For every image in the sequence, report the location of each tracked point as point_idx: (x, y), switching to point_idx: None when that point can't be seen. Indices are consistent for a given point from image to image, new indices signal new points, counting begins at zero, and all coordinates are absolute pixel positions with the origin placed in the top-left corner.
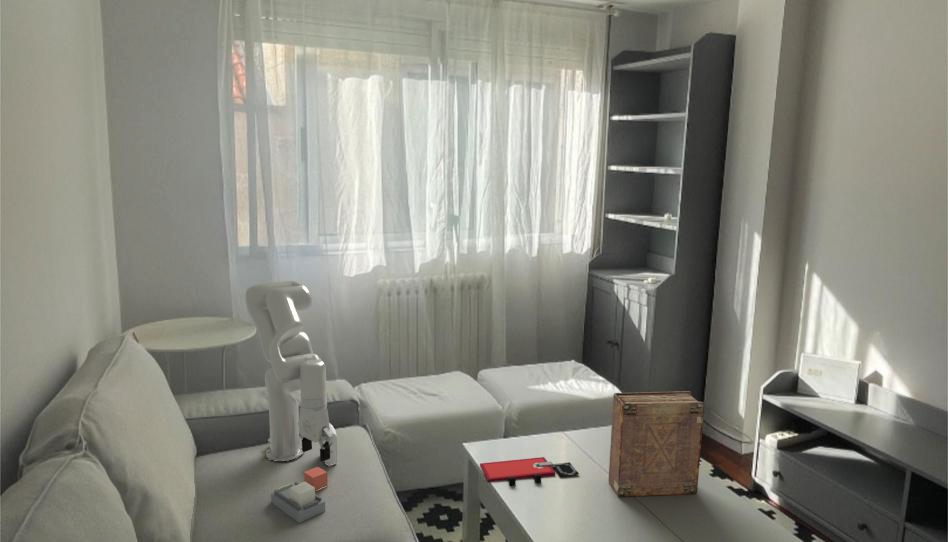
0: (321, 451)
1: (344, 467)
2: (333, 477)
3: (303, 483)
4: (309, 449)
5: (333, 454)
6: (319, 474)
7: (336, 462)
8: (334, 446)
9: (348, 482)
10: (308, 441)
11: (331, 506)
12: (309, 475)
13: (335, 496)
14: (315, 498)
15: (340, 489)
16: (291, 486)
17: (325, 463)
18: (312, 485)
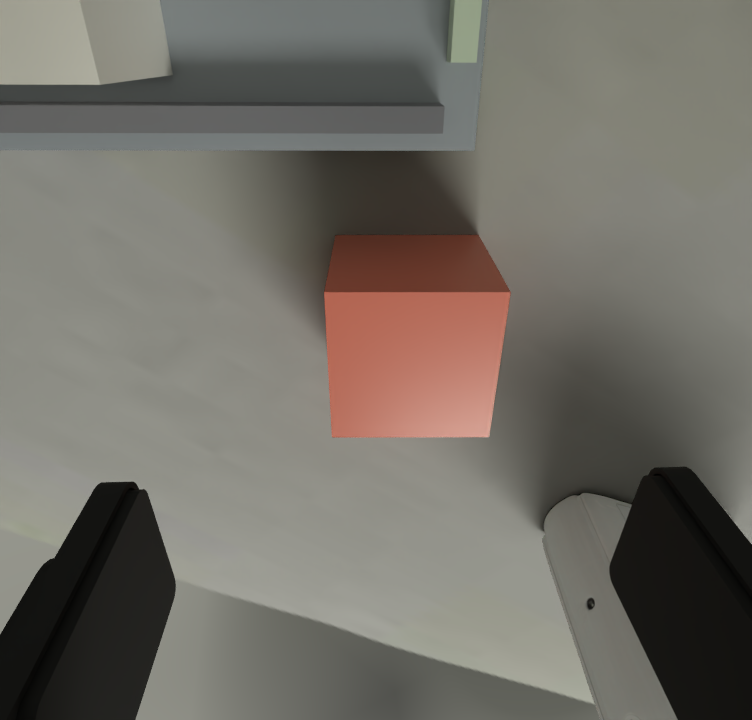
0: (2, 674)
1: (474, 542)
2: (422, 447)
3: (47, 21)
4: (620, 551)
5: (570, 591)
6: (341, 371)
7: (545, 545)
8: (590, 661)
9: (292, 472)
10: (705, 689)
11: (36, 218)
12: (399, 293)
13: (171, 323)
14: (6, 102)
15: (243, 396)
16: (445, 51)
17: (599, 502)
18: (345, 257)
